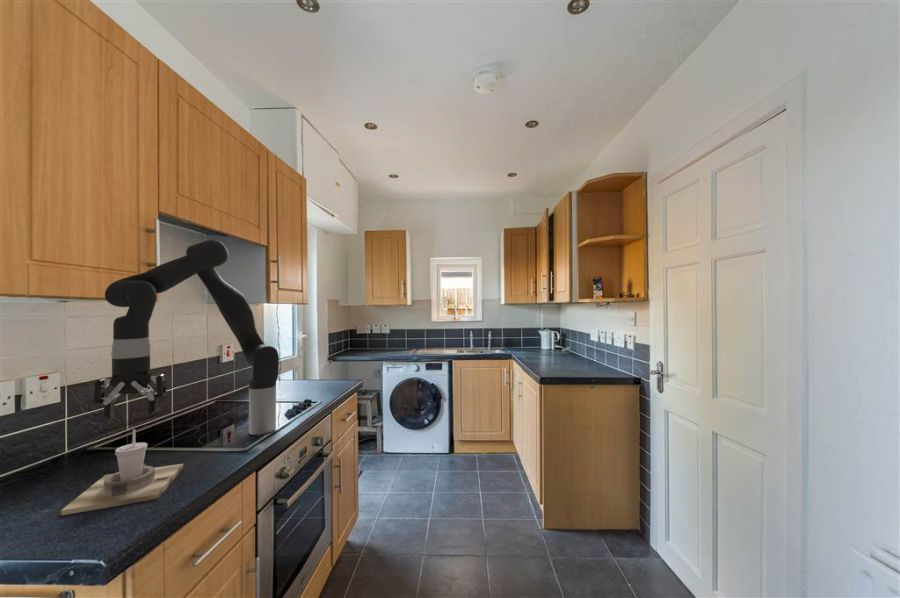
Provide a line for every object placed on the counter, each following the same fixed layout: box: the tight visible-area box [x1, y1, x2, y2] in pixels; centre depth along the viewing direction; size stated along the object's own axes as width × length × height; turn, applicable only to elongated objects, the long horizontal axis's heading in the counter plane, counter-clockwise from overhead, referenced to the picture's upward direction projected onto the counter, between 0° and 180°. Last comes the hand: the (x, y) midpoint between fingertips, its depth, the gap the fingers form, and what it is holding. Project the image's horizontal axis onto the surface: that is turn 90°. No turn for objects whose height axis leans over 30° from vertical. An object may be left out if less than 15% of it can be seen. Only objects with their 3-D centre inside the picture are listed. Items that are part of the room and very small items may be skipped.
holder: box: [60, 463, 184, 516], centre depth 91 cm, size 18×18×4 cm
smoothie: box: [114, 429, 148, 481], centre depth 91 cm, size 6×6×14 cm
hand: (131, 416), depth 91 cm, fingers open, 8 cm apart
